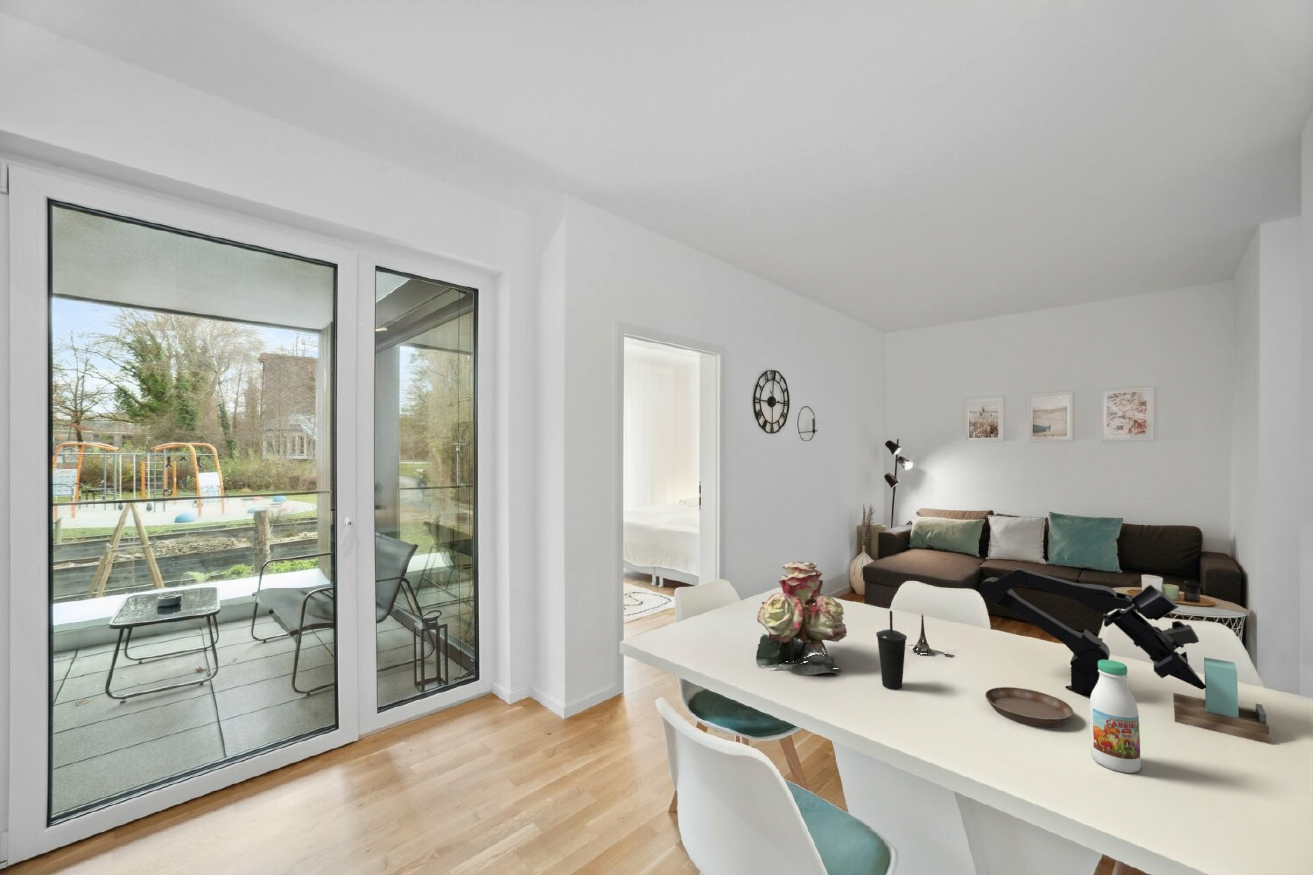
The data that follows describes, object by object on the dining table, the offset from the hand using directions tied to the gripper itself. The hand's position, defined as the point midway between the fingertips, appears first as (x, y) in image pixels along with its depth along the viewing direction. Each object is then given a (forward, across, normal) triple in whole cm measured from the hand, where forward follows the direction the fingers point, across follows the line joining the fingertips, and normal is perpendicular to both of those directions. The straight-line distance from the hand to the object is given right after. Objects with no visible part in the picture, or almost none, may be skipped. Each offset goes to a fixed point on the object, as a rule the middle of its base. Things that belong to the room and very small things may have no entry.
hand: (1204, 688), depth 130 cm
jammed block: (+6, 0, +2) cm, 6 cm away
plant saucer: (-17, -24, +28) cm, 40 cm away
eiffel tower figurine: (-39, +3, +50) cm, 63 cm away
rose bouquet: (-57, -29, +67) cm, 93 cm away
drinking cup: (-38, -30, +48) cm, 69 cm away
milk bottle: (-5, -38, +16) cm, 42 cm away
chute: (+7, 0, +4) cm, 7 cm away
